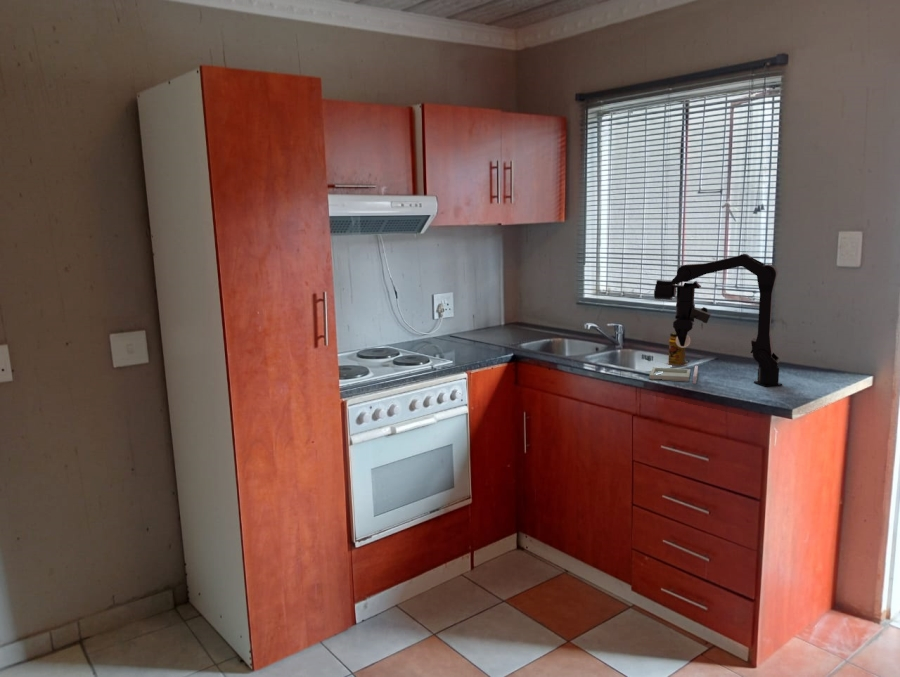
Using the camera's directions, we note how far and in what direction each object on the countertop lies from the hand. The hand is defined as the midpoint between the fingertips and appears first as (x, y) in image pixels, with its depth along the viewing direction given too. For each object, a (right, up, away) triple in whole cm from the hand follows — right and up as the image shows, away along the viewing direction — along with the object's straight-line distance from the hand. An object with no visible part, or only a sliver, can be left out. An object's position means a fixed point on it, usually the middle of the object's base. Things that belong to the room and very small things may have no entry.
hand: (682, 344), depth 240 cm
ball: (0, +1, 0) cm, 2 cm away
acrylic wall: (+4, -12, 0) cm, 12 cm away
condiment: (+6, -8, +25) cm, 27 cm away
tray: (-3, -11, +3) cm, 12 cm away
